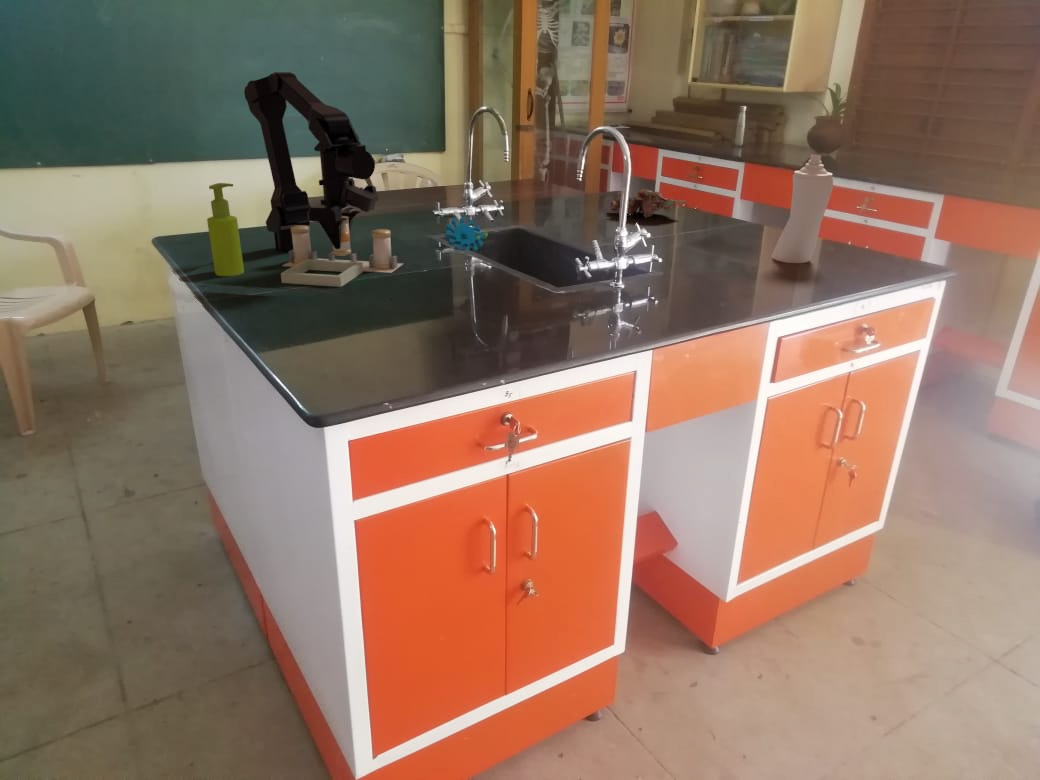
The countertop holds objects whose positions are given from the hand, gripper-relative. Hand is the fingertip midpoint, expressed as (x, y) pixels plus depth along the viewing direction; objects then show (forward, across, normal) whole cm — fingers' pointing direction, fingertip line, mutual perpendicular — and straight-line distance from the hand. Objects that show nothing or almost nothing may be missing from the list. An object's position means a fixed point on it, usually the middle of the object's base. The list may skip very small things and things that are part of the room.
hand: (341, 246), depth 170 cm
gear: (+6, +26, -22) cm, 35 cm away
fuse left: (+4, 0, +10) cm, 10 cm away
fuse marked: (+2, 0, 0) cm, 2 cm away
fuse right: (+4, 0, -10) cm, 10 cm away
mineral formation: (+6, +81, -64) cm, 103 cm away
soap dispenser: (+6, -11, +21) cm, 24 cm away
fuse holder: (+6, 0, 0) cm, 6 cm away
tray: (+6, -10, 0) cm, 12 cm away
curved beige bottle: (+6, +34, -102) cm, 108 cm away
